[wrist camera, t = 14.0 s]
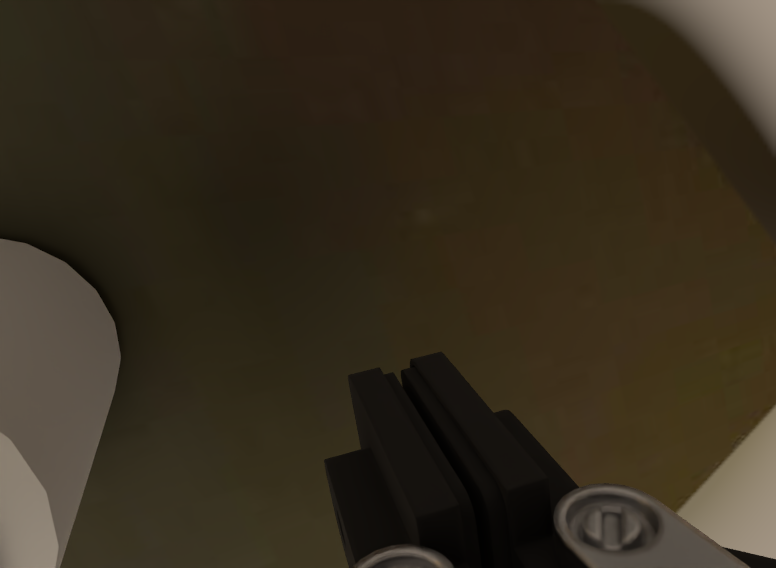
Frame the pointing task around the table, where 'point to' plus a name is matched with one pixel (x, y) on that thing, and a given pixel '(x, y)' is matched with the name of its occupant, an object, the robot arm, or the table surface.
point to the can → (48, 400)
